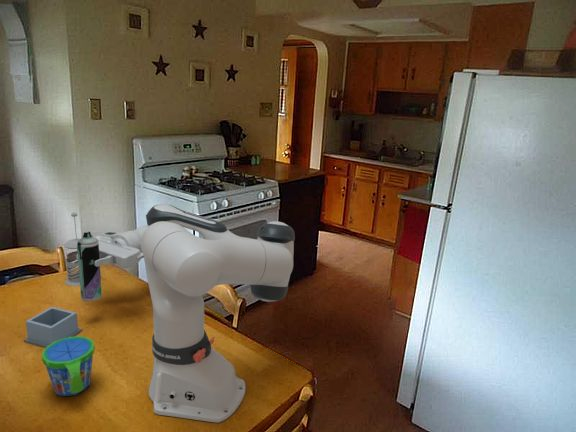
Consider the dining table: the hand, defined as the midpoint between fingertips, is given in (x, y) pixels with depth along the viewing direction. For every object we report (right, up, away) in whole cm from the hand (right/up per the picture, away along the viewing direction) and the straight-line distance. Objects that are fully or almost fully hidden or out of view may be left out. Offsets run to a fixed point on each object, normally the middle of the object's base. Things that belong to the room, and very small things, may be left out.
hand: (86, 260), depth 118 cm
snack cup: (+7, -27, -21) cm, 35 cm away
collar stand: (-8, -20, -3) cm, 22 cm away
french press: (-16, -10, +31) cm, 36 cm away
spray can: (0, -11, +4) cm, 12 cm away
